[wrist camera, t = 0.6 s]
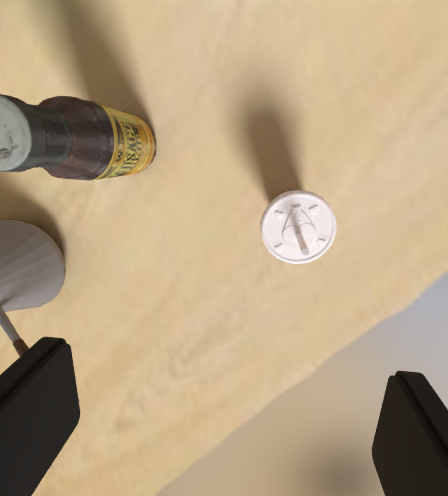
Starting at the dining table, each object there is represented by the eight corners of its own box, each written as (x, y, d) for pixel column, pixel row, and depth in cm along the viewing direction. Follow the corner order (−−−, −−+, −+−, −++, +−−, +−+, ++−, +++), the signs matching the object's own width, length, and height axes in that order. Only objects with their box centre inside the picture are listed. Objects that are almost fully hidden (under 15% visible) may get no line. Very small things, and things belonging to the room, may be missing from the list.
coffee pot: (-21, 260, 43) (-159, 318, 29) (16, 195, 40) (-120, 225, 25) (107, 355, 46) (38, 450, 31) (153, 302, 42) (98, 383, 28)
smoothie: (264, 238, 38) (266, 289, 25) (256, 183, 36) (254, 208, 23) (320, 230, 37) (353, 280, 24) (315, 174, 35) (348, 193, 22)
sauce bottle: (149, 181, 37) (35, 221, 18) (99, 159, 37) (-67, 175, 18) (168, 126, 35) (62, 107, 16) (116, 101, 35) (-54, 54, 16)
